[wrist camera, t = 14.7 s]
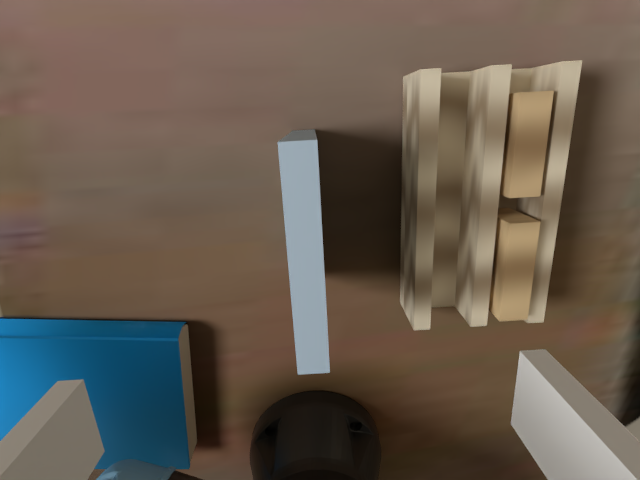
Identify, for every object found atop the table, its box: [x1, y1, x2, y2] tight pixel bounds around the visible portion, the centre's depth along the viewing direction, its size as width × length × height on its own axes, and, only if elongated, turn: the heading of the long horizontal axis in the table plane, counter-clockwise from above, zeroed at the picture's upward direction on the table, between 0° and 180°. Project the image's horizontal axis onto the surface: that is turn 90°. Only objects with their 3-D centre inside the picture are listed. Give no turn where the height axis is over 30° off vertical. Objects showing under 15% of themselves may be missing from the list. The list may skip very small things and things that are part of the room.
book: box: [0, 317, 197, 469], centre depth 40 cm, size 17×4×25 cm
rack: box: [400, 60, 582, 330], centre depth 34 cm, size 22×12×6 cm, turn 3°
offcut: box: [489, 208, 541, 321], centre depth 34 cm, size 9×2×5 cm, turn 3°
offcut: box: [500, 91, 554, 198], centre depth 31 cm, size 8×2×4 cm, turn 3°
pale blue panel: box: [278, 129, 330, 375], centre depth 29 cm, size 14×2×16 cm, turn 3°
